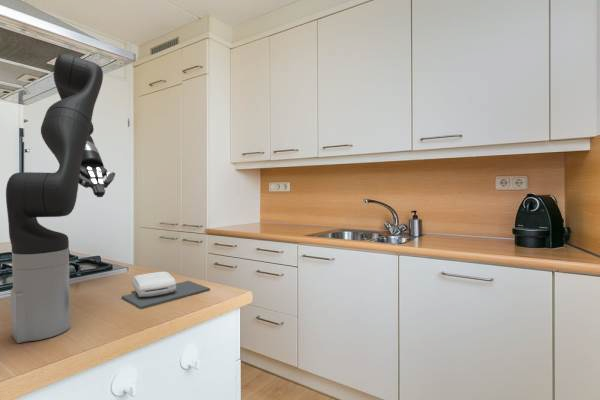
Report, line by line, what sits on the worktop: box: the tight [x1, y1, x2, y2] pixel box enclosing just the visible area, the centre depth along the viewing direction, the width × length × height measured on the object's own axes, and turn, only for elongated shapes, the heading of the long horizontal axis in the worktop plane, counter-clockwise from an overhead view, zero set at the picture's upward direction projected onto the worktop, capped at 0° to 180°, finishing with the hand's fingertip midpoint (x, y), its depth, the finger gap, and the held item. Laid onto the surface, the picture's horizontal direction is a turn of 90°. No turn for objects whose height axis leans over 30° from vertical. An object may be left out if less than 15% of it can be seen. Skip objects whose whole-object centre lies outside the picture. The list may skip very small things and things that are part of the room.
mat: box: [121, 280, 211, 310], centre depth 93 cm, size 20×12×1 cm, turn 139°
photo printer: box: [131, 271, 177, 297], centre depth 93 cm, size 10×4×12 cm
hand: (100, 195), depth 100 cm, fingers closed
